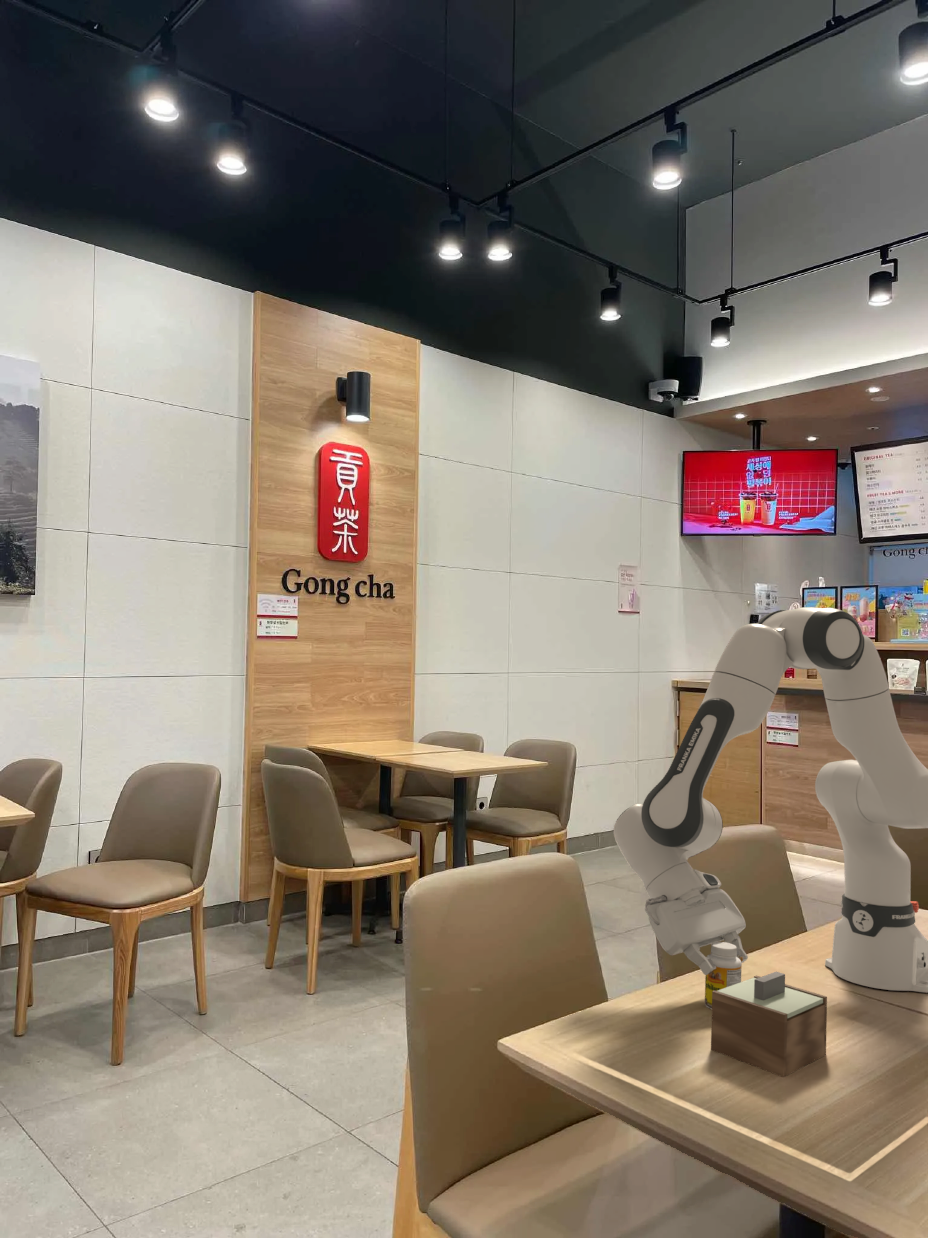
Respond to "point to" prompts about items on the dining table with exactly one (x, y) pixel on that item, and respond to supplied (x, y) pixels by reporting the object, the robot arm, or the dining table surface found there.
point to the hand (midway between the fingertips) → (727, 967)
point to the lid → (773, 994)
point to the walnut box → (768, 1033)
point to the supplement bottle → (722, 969)
